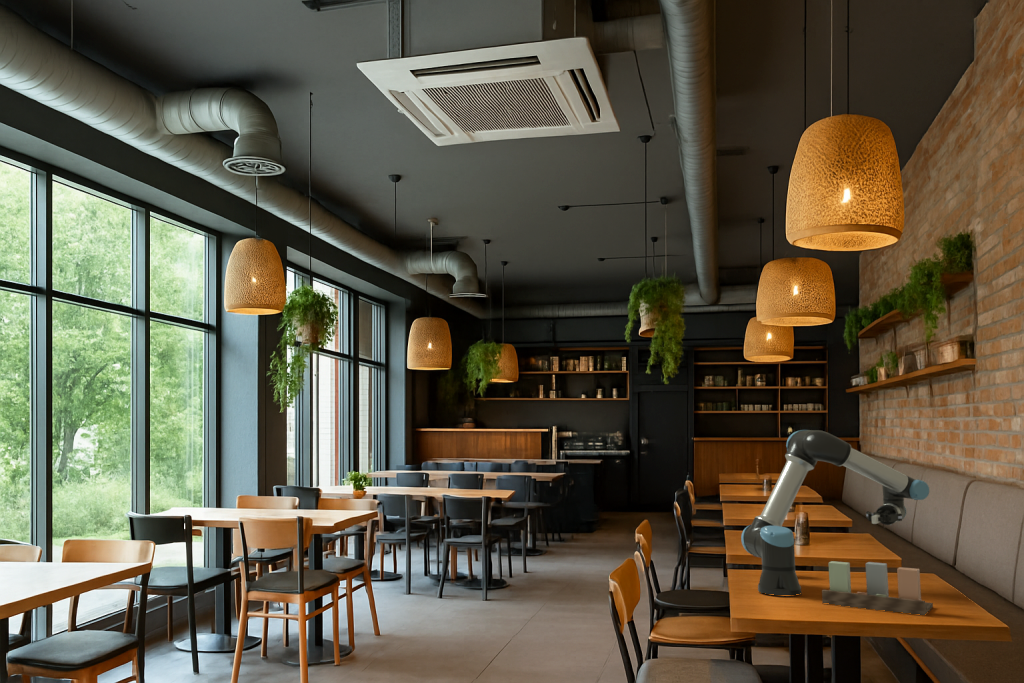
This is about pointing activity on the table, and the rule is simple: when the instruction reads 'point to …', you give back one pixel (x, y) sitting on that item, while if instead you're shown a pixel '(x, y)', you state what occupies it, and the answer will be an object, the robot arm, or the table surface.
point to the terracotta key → (909, 583)
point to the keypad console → (876, 602)
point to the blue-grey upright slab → (877, 578)
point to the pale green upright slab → (839, 576)
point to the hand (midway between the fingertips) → (873, 520)
